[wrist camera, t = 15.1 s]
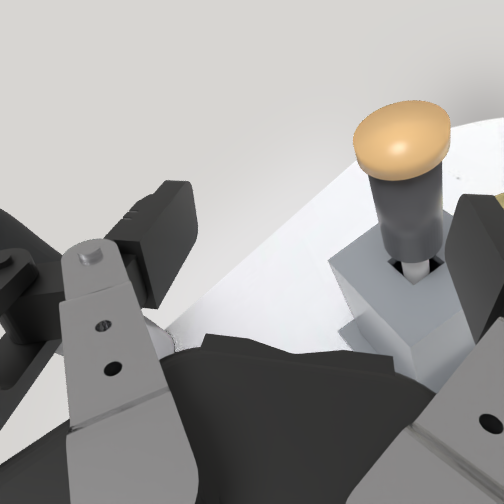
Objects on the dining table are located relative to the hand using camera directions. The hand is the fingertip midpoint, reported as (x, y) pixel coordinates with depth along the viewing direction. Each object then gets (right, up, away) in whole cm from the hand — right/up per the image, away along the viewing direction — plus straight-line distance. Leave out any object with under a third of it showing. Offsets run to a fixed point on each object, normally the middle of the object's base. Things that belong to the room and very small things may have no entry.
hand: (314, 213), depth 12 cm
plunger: (+16, -9, +29) cm, 34 cm away
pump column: (+18, -12, +32) cm, 38 cm away
